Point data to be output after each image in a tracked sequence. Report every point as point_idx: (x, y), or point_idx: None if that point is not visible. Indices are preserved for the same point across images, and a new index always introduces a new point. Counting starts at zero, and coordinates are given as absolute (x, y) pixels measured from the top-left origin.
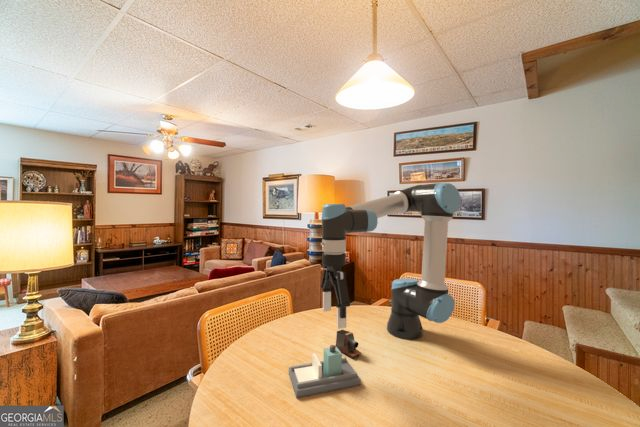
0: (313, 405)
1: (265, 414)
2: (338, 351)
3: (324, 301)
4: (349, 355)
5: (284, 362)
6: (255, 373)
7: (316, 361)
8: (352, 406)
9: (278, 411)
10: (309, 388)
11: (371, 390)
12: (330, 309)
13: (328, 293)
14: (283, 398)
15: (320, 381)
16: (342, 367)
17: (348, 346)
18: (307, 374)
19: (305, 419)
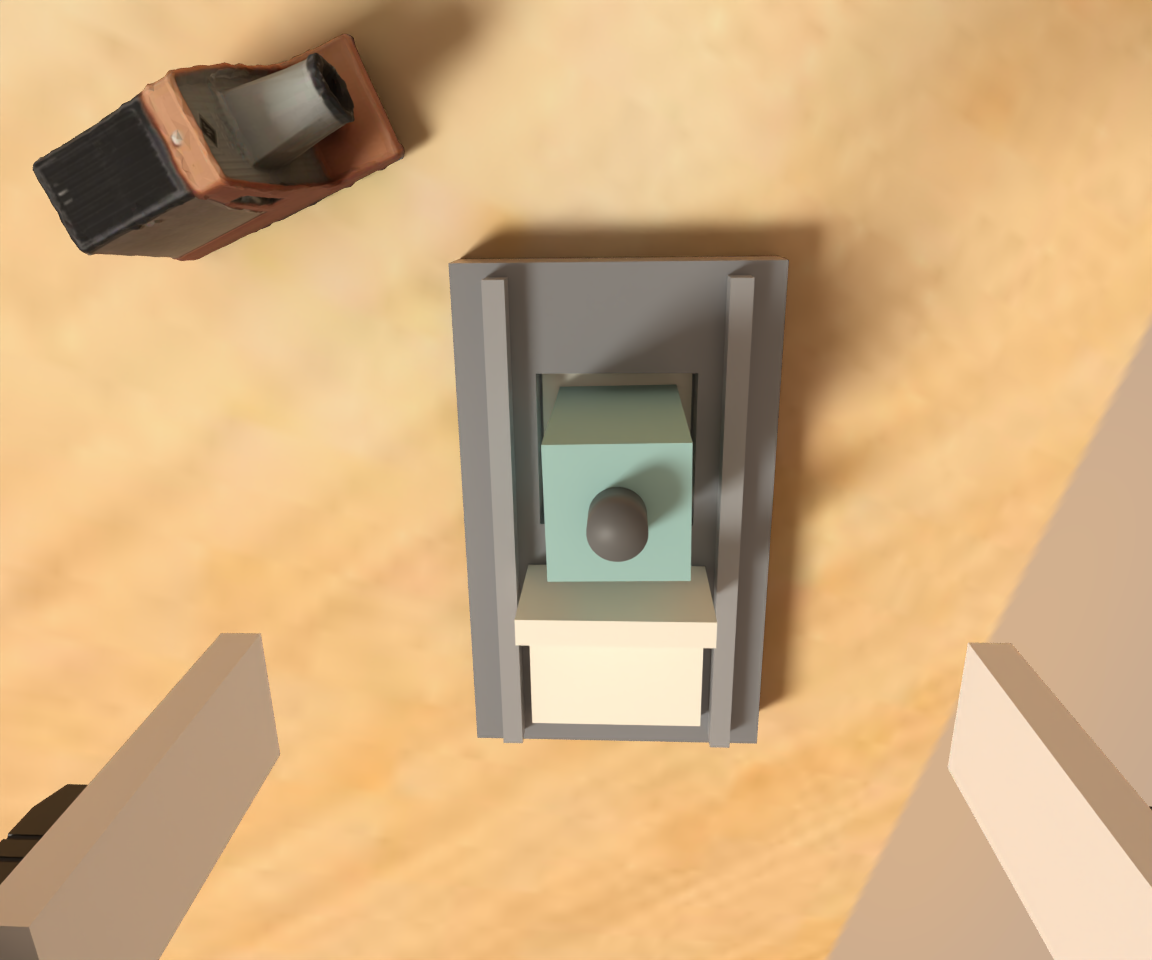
0: (849, 639)
1: (816, 877)
2: (640, 460)
3: (191, 876)
4: (362, 176)
5: (341, 711)
6: (434, 887)
7: (644, 645)
8: (961, 410)
9: (820, 819)
10: (759, 664)
11: (866, 191)
12: (252, 654)
13: (72, 953)
14: (724, 780)
15: (737, 590)
16: (588, 348)
17: (289, 166)
18: (627, 654)
19: (938, 707)
